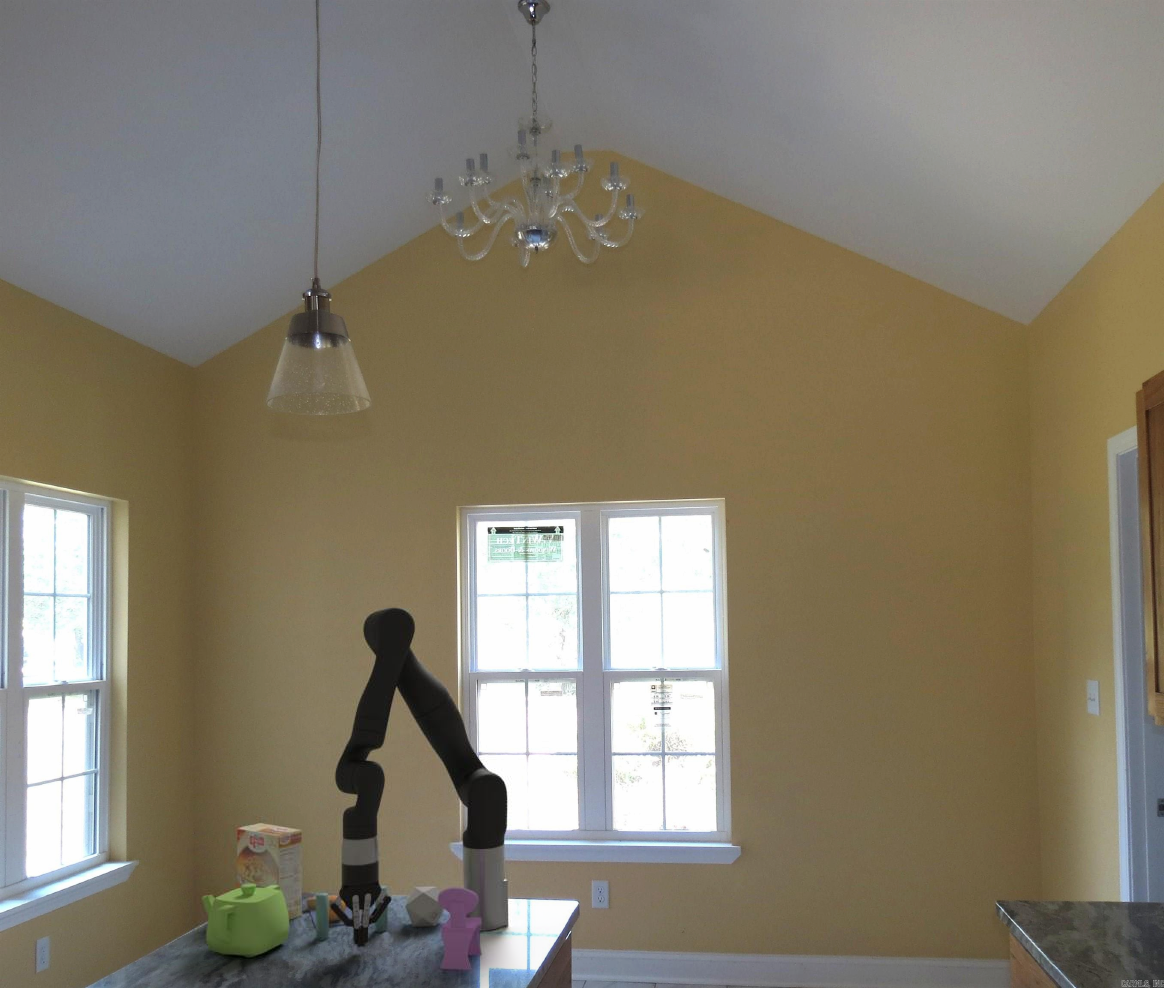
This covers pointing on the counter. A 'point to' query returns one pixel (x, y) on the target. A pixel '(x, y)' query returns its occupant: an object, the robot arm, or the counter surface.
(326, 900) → the post
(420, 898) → the die
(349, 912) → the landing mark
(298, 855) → the coffeecake box
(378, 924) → the post
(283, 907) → the teapot
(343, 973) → the counter surface
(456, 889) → the toy chair
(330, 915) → the ball
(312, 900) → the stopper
